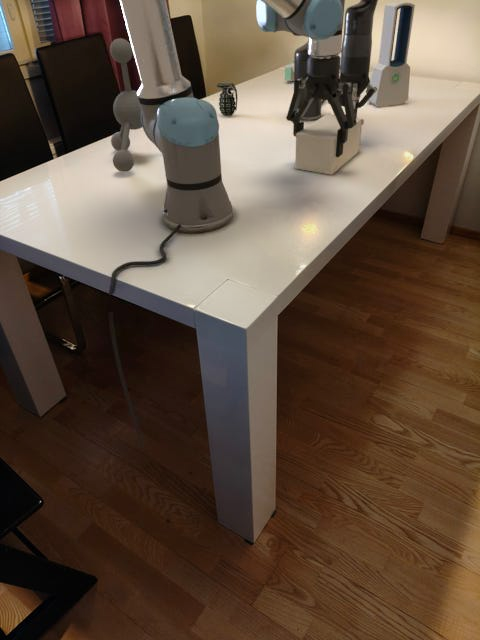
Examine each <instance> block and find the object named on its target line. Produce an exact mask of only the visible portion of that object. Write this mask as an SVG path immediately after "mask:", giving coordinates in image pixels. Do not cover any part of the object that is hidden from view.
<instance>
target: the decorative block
mask: <svg viewBox="0 0 480 640" xmlns="http://www.w3.org/2000/svg"><path fill="white" fill-rule="evenodd" d="M340 68H341V64H340ZM284 81H287V82H288V81H289V82H294V61H293V60H292V61H290V64H287V66H286V67H284Z"/></svg>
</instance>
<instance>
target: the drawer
mask: <svg viewBox="0 0 480 640" xmlns="http://www.w3.org/2000/svg"><path fill="white" fill-rule="evenodd" d="M361 119H362V118H361ZM364 121H365V119H362V120H361V130H360V140H359V147H360V146H361V139H362V137H361V136H362V128H363V125H364V123H365V122H364Z"/></svg>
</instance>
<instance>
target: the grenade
mask: <svg viewBox="0 0 480 640" xmlns="http://www.w3.org/2000/svg"><path fill="white" fill-rule="evenodd" d="M215 87H217V88H219V89H221V93H219V97H218V101H219V102H218V106H219V108H218V109H219V112H220V114H221V115H222V116H224V117H231V116H233V115H234V113H235V112H236V111H237V108H238V89H237V87H236V85H235V84H234V83H233V82H218V83H217V84H216V86H215ZM232 91H233V92H232ZM234 94H235V96H234Z"/></svg>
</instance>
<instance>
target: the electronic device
mask: <svg viewBox="0 0 480 640" xmlns="http://www.w3.org/2000/svg"><path fill="white" fill-rule="evenodd" d="M415 9H416V5H415V4H414V3H411V2H406V1H399V0H395V1H390V2H388V3H385V4H384V10H383V18H382V27H381V37H380V46H379V54H378V62H377V63H376V64H375V65H374V66H373V67H372V71H371V75H370V78H369V79H370V84H371V85H372V86H373V87H376V88H377V91H376V92H375V93H374V94H373V95H372V97H371V98H370V99H369V100H368V101H367V102H368V103H370V105H371V104H372V105H373V106H375V107H377V108H382V107H389V106H395V105H396V106H397V105H403V104H406V102H407V101H408V100H409V92H410V77H411V76H410V75H411V66H410V65H409V64H408V63H407V62H408V55H409V50H410V49H409V48H410V41H411V34H412V28H413V21H414V14H415ZM398 13H399V17H398ZM397 19H398V20H397ZM397 21H398V25H397ZM396 29H397V32H396ZM395 36H396V40H395ZM394 43H395V44H394ZM394 45H395V47H394ZM394 48H395V49H394ZM393 51H394V52H393ZM393 53H394V54H393ZM393 55H394V56H393Z"/></svg>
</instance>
